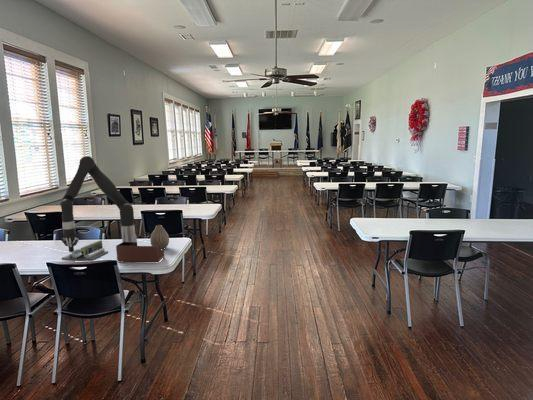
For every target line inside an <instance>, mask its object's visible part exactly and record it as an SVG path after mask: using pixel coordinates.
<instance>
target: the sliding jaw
mask: <svg viewBox="0 0 533 400" xmlns="http://www.w3.org/2000/svg"><path fill="white" fill-rule="evenodd" d="M87 245H88V244H87ZM87 245H85V246H87ZM81 248H82V247H79V248H77V249H74V251H72V252H71V253H72V256H73V257H76V258H77V257H78V256H81V255H82V254H81Z"/></svg>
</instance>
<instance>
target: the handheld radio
mask: <svg viewBox="0 0 533 400" xmlns="http://www.w3.org/2000/svg"><path fill="white" fill-rule="evenodd" d="M80 248H81V254H82V255H81V256H78V257H77V259H79V258H81V257H82V258H84V257H85V254H87V253H89V252H92V251H94V250H96V249H98V248H104V247H103V241H102V240H98V241H95V242H92V243H90V244H87V246H86V245H84V246H82V247H80Z"/></svg>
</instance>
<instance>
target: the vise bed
mask: <svg viewBox="0 0 533 400" xmlns="http://www.w3.org/2000/svg"><path fill="white" fill-rule="evenodd" d="M108 253H109V250H105V248H104V247H103V248H98V249H96V250H94V251H92V252H89V253H87V254H85V257H84V258H82V257H81V258H79V259H77V258H76V257H73V256H72V252H70V254H66V255H64V256H63V257H61V260H68V261H69V260H71V261H95V260H96V259H99V257H102V256H104V255H105V254H108Z"/></svg>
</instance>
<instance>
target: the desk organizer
mask: <svg viewBox="0 0 533 400" xmlns="http://www.w3.org/2000/svg"><path fill="white" fill-rule="evenodd" d="M115 248H116V260H118V261H123V262H122V263H135V262H159V261H160V260H161V259H162V258H165V251H164V250H161V249H160V248H159V247H158V246H152V245H138V241H137V242H120V243H119V244H117V245H116V246H115Z"/></svg>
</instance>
